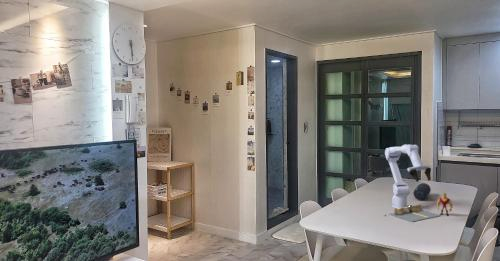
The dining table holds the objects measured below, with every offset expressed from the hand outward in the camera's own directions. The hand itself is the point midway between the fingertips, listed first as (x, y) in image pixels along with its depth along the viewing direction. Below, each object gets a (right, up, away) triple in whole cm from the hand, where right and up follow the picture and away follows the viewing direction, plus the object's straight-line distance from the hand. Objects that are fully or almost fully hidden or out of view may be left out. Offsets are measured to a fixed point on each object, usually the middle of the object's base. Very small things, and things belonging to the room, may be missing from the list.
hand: (423, 180), depth 226 cm
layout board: (-1, -24, +11) cm, 26 cm away
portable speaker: (+26, -21, +56) cm, 65 cm away
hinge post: (-1, -24, +16) cm, 29 cm away
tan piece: (-9, -24, +13) cm, 28 cm away
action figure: (+18, -24, +9) cm, 32 cm away
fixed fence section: (+4, -23, +18) cm, 30 cm away
